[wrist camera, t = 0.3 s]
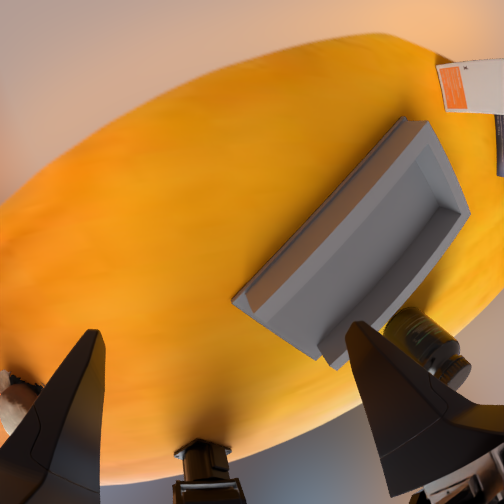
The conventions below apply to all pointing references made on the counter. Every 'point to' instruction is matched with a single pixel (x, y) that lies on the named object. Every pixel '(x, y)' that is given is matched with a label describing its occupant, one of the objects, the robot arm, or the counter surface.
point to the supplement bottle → (429, 346)
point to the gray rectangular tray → (362, 246)
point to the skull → (15, 399)
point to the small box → (500, 144)
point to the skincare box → (473, 86)
